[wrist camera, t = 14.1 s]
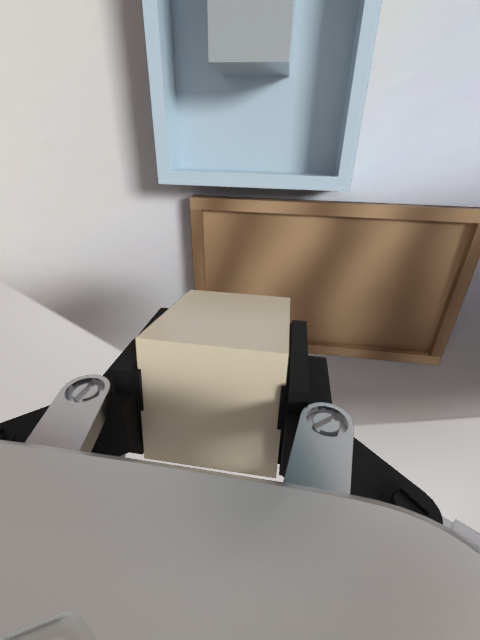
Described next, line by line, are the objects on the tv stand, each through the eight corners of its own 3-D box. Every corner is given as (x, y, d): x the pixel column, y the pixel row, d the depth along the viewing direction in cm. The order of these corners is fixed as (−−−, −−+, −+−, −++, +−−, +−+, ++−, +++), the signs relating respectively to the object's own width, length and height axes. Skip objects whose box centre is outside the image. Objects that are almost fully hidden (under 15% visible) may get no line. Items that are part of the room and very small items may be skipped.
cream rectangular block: (290, 297, 13) (288, 354, 8) (281, 386, 14) (275, 478, 10) (190, 289, 13) (135, 337, 9) (191, 376, 15) (144, 458, 10)
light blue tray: (383, -68, 17) (400, -107, 14) (343, 186, 22) (349, 191, 20) (156, -57, 18) (133, -91, 15) (173, 179, 24) (158, 183, 21)
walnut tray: (487, 207, 22) (497, 211, 21) (432, 357, 28) (438, 365, 26) (194, 194, 24) (189, 197, 23) (200, 335, 30) (196, 342, 29)
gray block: (299, -89, 14) (288, 61, 16) (298, -42, 17) (289, 76, 20) (205, -84, 14) (208, 62, 16) (223, -39, 18) (223, 76, 20)
